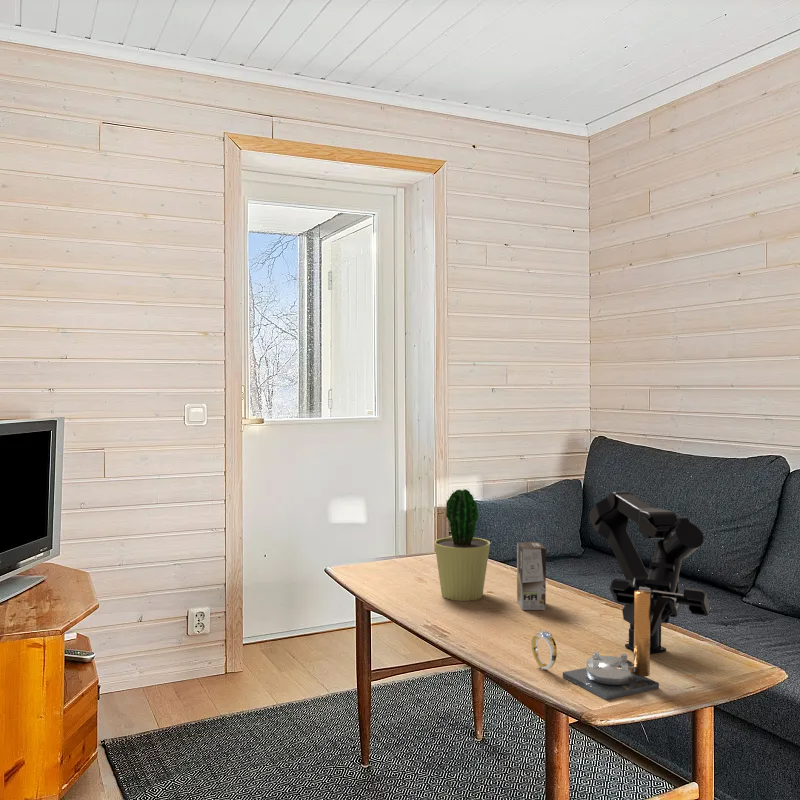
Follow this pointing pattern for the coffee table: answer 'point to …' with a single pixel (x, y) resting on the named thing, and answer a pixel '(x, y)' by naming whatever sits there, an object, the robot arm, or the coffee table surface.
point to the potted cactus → (462, 551)
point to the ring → (552, 647)
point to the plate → (607, 689)
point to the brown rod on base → (621, 668)
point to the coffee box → (531, 575)
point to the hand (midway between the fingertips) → (650, 634)
